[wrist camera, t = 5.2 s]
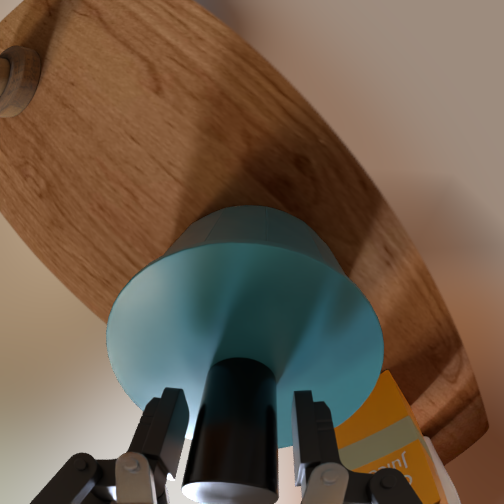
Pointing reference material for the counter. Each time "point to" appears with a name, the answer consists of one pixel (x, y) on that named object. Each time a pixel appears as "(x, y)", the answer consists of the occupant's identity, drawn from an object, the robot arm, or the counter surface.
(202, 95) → the counter surface
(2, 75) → the mortar and pestle
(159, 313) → the lid
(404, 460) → the orange juice
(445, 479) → the drinking glass
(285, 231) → the pot
